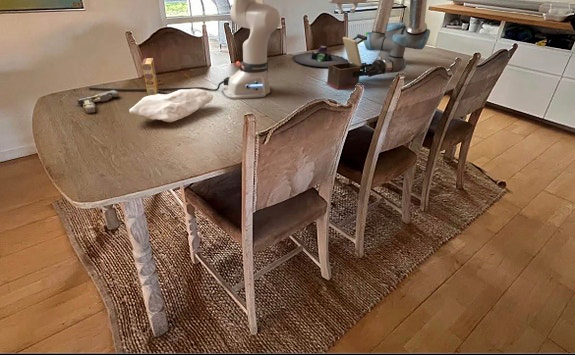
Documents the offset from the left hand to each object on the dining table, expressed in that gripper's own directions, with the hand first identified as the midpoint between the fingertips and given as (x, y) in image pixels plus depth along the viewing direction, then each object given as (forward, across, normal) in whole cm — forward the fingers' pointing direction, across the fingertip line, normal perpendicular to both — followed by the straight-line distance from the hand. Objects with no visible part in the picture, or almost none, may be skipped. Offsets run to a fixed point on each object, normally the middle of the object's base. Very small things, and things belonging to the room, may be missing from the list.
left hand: (346, 13), depth 169 cm
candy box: (+35, -88, +23) cm, 97 cm away
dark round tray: (+34, +18, +44) cm, 59 cm away
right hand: (+28, +5, 0) cm, 28 cm away
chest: (+34, +3, 0) cm, 35 cm away
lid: (+18, +6, 0) cm, 19 cm away
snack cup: (+34, +70, +57) cm, 97 cm away
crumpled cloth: (+35, -86, -3) cm, 92 cm away
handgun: (+35, -110, +20) cm, 117 cm away
